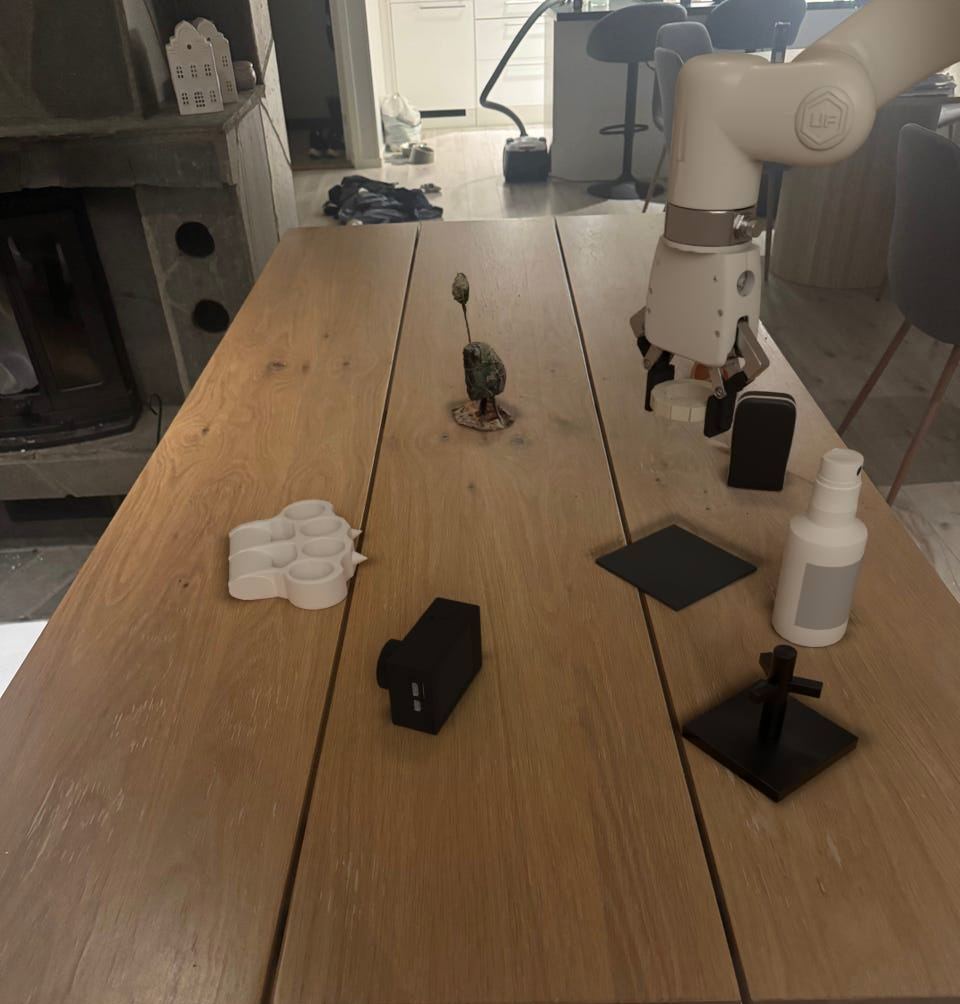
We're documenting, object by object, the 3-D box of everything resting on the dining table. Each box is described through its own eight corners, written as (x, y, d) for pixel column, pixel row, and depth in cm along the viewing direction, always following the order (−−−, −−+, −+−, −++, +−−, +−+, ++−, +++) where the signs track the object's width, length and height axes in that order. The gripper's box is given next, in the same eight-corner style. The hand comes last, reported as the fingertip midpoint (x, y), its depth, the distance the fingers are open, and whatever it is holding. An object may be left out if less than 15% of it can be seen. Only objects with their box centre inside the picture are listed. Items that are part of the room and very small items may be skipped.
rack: (760, 688, 85) (776, 599, 80) (856, 748, 79) (881, 656, 73) (681, 736, 81) (692, 645, 75) (776, 804, 74) (796, 710, 68)
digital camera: (430, 653, 91) (425, 592, 87) (482, 665, 89) (480, 603, 85) (379, 721, 83) (371, 658, 79) (436, 736, 82) (430, 671, 77)
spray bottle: (824, 658, 88) (863, 482, 78) (757, 630, 92) (786, 459, 82) (857, 624, 92) (899, 453, 82) (792, 599, 96) (824, 432, 85)
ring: (686, 386, 95) (687, 373, 94) (741, 408, 91) (743, 394, 90) (635, 405, 92) (636, 391, 91) (689, 428, 87) (691, 414, 87)
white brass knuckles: (232, 534, 111) (359, 518, 113) (232, 622, 96) (376, 602, 98) (227, 508, 109) (356, 492, 111) (225, 594, 94) (373, 574, 96)
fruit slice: (683, 381, 143) (686, 348, 140) (727, 378, 143) (731, 345, 140) (697, 403, 136) (700, 369, 133) (743, 400, 136) (748, 366, 134)
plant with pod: (462, 443, 128) (455, 291, 116) (449, 410, 137) (440, 266, 125) (521, 436, 129) (520, 285, 117) (504, 404, 138) (501, 260, 126)
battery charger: (784, 479, 117) (800, 389, 110) (784, 493, 114) (800, 402, 107) (726, 474, 119) (737, 385, 112) (724, 488, 116) (736, 397, 109)
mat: (673, 526, 109) (673, 523, 108) (757, 570, 101) (757, 566, 100) (594, 562, 103) (595, 559, 103) (676, 611, 95) (677, 608, 95)
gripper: (821, 236, 78) (784, 439, 88) (666, 200, 89) (650, 384, 100) (760, 253, 74) (729, 462, 85) (606, 213, 85) (596, 402, 96)
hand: (686, 418), depth 92 cm, fingers closed on ring, 7 cm apart
